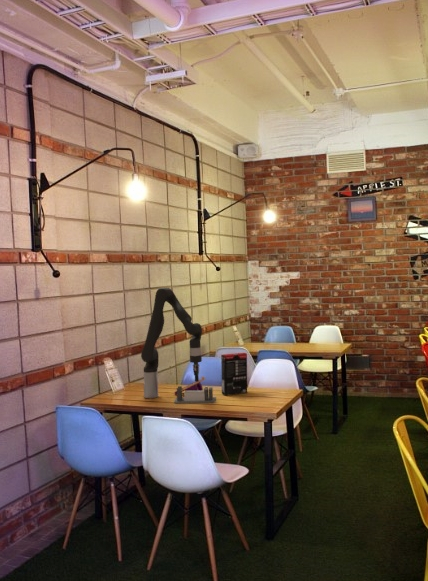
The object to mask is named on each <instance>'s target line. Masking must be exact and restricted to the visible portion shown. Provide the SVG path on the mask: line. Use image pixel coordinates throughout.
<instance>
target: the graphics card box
mask: <svg viewBox="0 0 428 581" xmlns="http://www.w3.org/2000/svg"><path fill="white" fill-rule="evenodd" d="M220 360H221V361H220V362H221V365H220V366H221V394H222V395H224V396H231V395H239V394H248V353H246V352H236V353H228V354H227V353H226V354H221V357H220Z"/></svg>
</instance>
